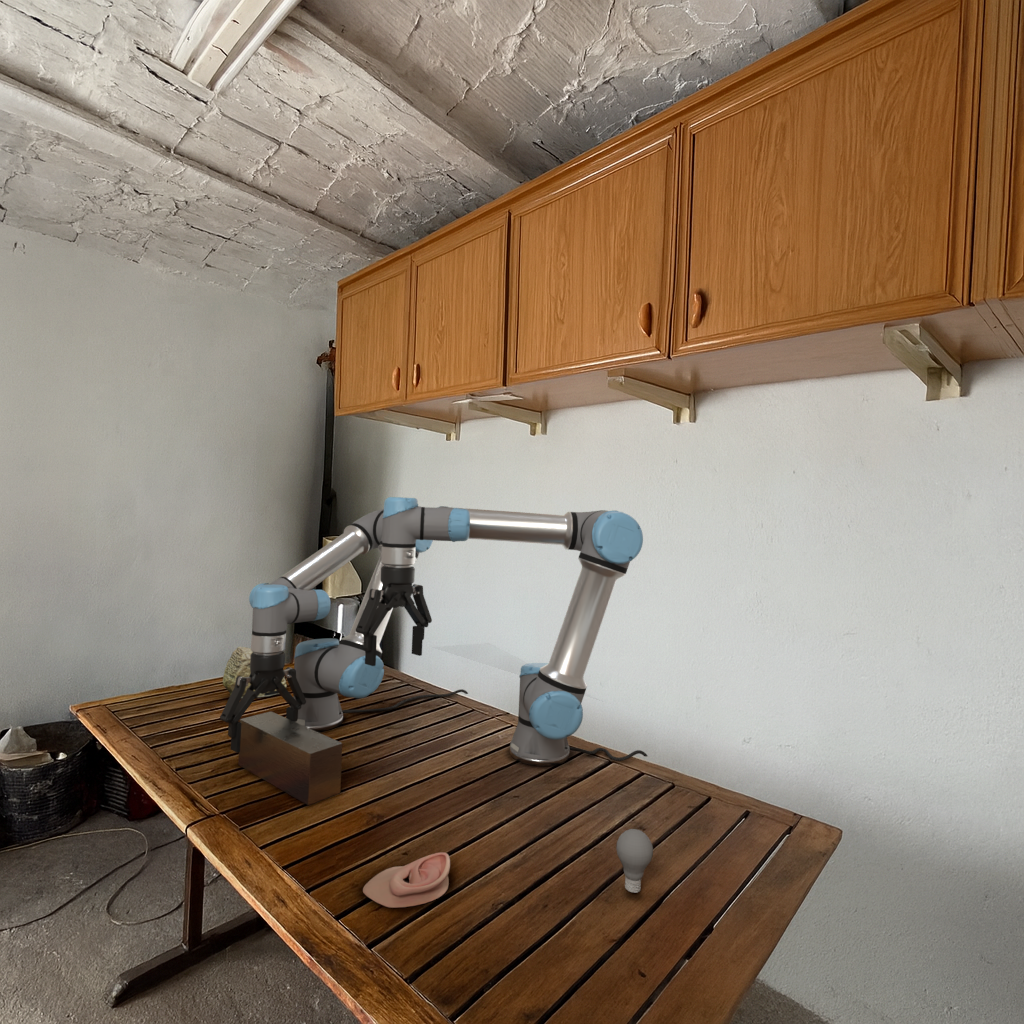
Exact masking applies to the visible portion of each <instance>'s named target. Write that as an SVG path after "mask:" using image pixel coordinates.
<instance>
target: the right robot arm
mask: <svg viewBox="0 0 1024 1024" xmlns="http://www.w3.org/2000/svg"><path fill="white" fill-rule="evenodd" d="M383 509H384V512H383V530H382V555H381V554H380V555H381V563H382V564H384V566H382V567H381V582H382V589H381V590H377V589H370V592H369V599H368V602H367V604H366V606H365V609H364V611H363V613H362V616H361V618H360V621H359V623H358V625H357V628H356V632H358V633H361V634H363V635H364V642H363V648H364V650H365V664H367V665H370V666H376V644H377V636H376V635H374V633H375V631H376V630H377V628H378V627H379V625H380V624H381V622H382V621H383V619H384V617H385V616H386V614H387V613H388V611H390V610H391V609H392V608H393V609H396V608H399V607H401V608H404V610H405V611H406V612H407V614H408V615H409V617H410V618H411V620H412V621H413V623H414V624H415V625H412V631H411V633H412V635H411V654H412V655H415V656H419V657H421V656H423V641H424V639H425V629H426V628H428V627H429V624H431V623H432V621H433V619H432V616H431V613H430V610H429V607H428V603H427V601H426V598H425V594H424V586H423V585H422V584H416V583H415V578H416V577H415V575H416V568H415V567H414V565H415V564H416V562H415V550H416V540H433V541H436V542H437V541H438V542H452V543H455V542H466V541H468V540H479V541H494V542H509V543H523V544H524V543H525V544H539V545H553V546H562V547H563V548H564V549H565V550H568V551H569V550H570V551H578V552H579V555H578V558H577V560H578V561H579V563H580V566H581V568H580V571H579V575H578V577H577V580H576V583H575V586H574V588H573V592H572V594H571V598H570V601H569V604H568V605H567V610H566V611H565V615H564V617H563V620H562V624H561V627H560V629H559V631H558V632H559V633H558V635H557V638H556V641H555V644H554V647H553V649H552V653H551V655H550V659H549V661H548V662H529V663H525V664H523V665H521V667H520V671H519V672H520V673H519V675H518V677H519V692H518V696H519V697H518V713H517V714H518V716H517V723H516V727H515V729H514V732H513V734H512V735H513V736H512V737H511V740H510V744H509V755H510V756H511V758H512V759H514V760H516V761H518V762H519V763H523V764H526V765H530V766H536V767H551V766H558V765H560V764H563V763H566V762H567V761H568V760H569V759H570V751H573V752H578V753H582V754H586V755H596V754H597V753H598V752H601V753H605V754H606V756H607V757H608V758H609V759H610V760H611V761H614V762H624V761H627V760H629V759H631V758H633V757H634V756H636V755H638V754H639V755H642V756H643V757H648V754H647V753H646V752H645V751H644V750H640V749H637V750H634V751H632V752H631V753H629V754H627V755H625V756H619V757H618V756H617V757H616V756H613V755H612V754H611V753H610V751H609V750H608V749H606V748H604V747H597V748H595V749H594V750H588V749H583V748H579V747H573V746H570V743H569V741H568V737H571V736H572V735H573V734H575V733H576V732H577V731H578V730H579V728H580V727H581V725H582V722H583V719H584V718H583V717H584V709H583V705H582V704H583V703H582V702H583V700H584V697H585V694H586V691H587V688H588V685H587V683H586V679H585V678H584V676H585V673H586V670H587V668H588V664H589V663H590V660H591V656H592V653H593V651H594V647H595V644H596V641H597V638H598V636H599V632H600V630H601V626H602V624H603V621H604V618H605V616H606V612H607V609H608V607H609V604H610V601H611V598H612V596H613V592H614V589H615V587H616V584H617V581H618V580H619V579H620V578H623V577H625V576H626V575H627V573H628V568H629V566H630V563H631V562H632V561H633V560H634V559H635V558H637V556H639V554H640V552H641V551H642V548H643V544H644V534H643V529H642V528H641V526H640V524H639V522H638V521H637V520H636V518H634V517H632V516H631V515H630V514H628V513H625V512H623V511H619V510H605V509H603V510H592V511H591V510H590V511H567V512H566V513H564V514H549V513H537V512H535V513H534V512H520V511H506V510H494V509H493V510H492V509H481V508H479V509H478V508H463V507H452V506H451V507H449V506H445V505H444V506H443V505H441V506H438V507H429V506H428V507H427V506H420V505H419V503H418V499H417V498H416V497H400V496H399V497H398V496H388V497H387V498H386V499H385V500H384V502H383ZM411 596H412V597H411ZM381 598H382V599H381ZM380 599H381V601H380ZM385 603H386V604H385ZM377 607H378V608H377Z"/></svg>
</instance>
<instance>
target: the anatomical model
mask: <svg viewBox="0 0 1024 1024" xmlns="http://www.w3.org/2000/svg"><path fill="white" fill-rule="evenodd" d="M450 870H451V858H450V855H449V854H448V853H447V852H445V851H444V852H442V851H441V852H440V851H439V852H435V853H432V854H429V855H425V856H423V857H420V858H418V859H416V860H414V861H412V862H410V863H407V864H405V865H402V866H401V865H400V866H399V865H398V866H392V867H388V868H386V869H384V870H382V871H380V872H379V873H377V874H376V875H374V876H373V877H372V878H371V879H369V881H367V882H366V883H365V885H364V886H363V888H362V892H363V894H364V895H365V896H366V897H367V898H368V899H370V900H372V901H373V902H375V903H377V904H379V905H381V906H383V907H386V908H390V909H391V908H392V909H393V908H395V909H396V908H407V907H415V906H420V905H424V904H427V903H430V902H432V901H435V900H436V899H439V898H440V897H442V896H443V895H444V894H446V892H447V891H448V889H449V884H450V883H449V880H450V879H449V873H450Z"/></svg>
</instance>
